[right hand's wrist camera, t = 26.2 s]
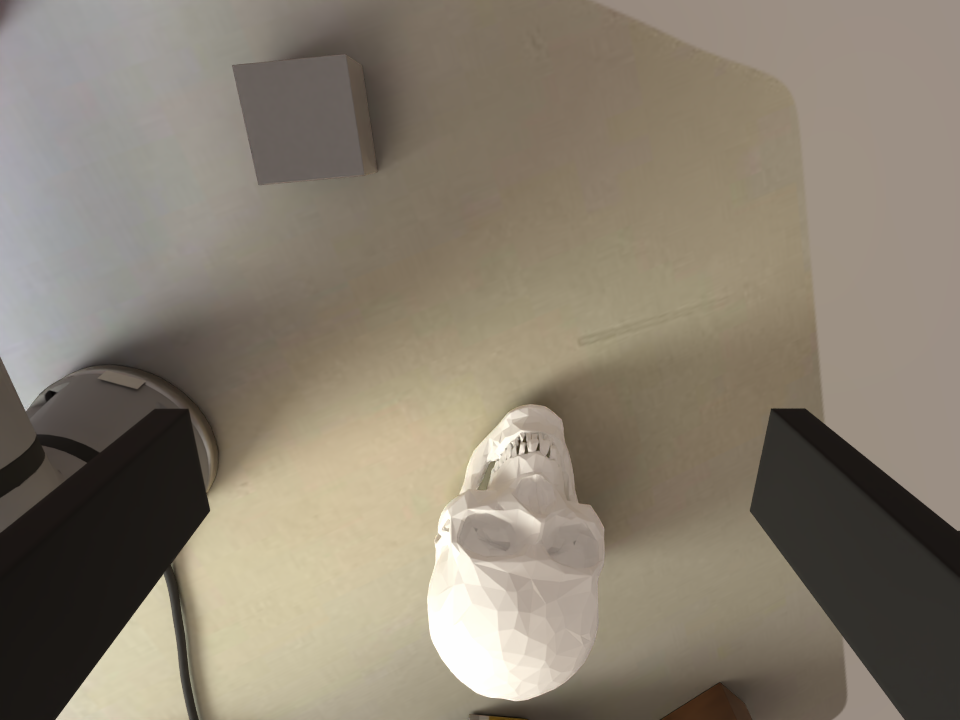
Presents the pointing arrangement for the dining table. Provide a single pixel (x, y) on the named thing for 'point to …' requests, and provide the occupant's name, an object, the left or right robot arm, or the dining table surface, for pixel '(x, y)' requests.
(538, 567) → the skull
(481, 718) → the toy
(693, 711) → the walnut block
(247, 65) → the matte grey square block
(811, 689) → the dining table surface
